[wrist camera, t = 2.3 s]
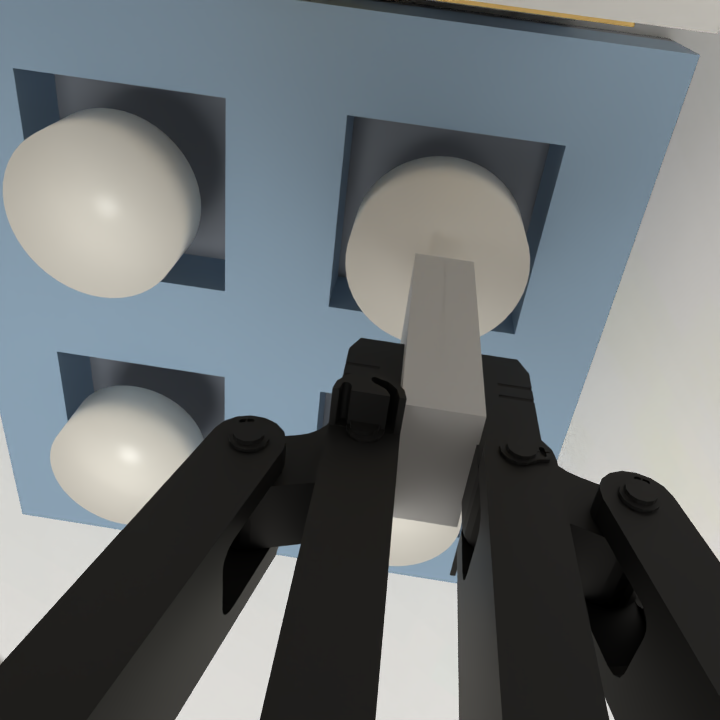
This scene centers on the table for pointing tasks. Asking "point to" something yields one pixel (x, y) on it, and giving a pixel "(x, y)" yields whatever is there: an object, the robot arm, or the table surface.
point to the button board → (318, 197)
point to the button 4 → (437, 238)
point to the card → (616, 11)
